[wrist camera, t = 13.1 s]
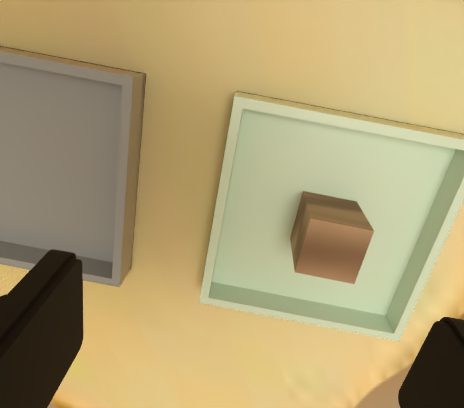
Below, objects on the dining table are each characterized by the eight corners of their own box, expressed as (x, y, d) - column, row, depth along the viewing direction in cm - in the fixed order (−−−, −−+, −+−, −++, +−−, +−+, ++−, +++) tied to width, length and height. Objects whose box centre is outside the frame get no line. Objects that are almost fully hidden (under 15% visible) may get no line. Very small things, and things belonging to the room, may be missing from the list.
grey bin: (-81, 30, 32) (-119, 28, 29) (146, 73, 32) (132, 76, 29) (-52, 232, 40) (-79, 248, 37) (131, 267, 40) (119, 287, 37)
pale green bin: (237, 91, 32) (234, 96, 29) (466, 134, 32) (489, 144, 29) (204, 282, 40) (199, 302, 37) (388, 317, 40) (399, 341, 37)
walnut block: (303, 190, 34) (310, 218, 29) (356, 201, 34) (374, 231, 29) (290, 238, 36) (294, 272, 31) (340, 248, 36) (354, 284, 31)
